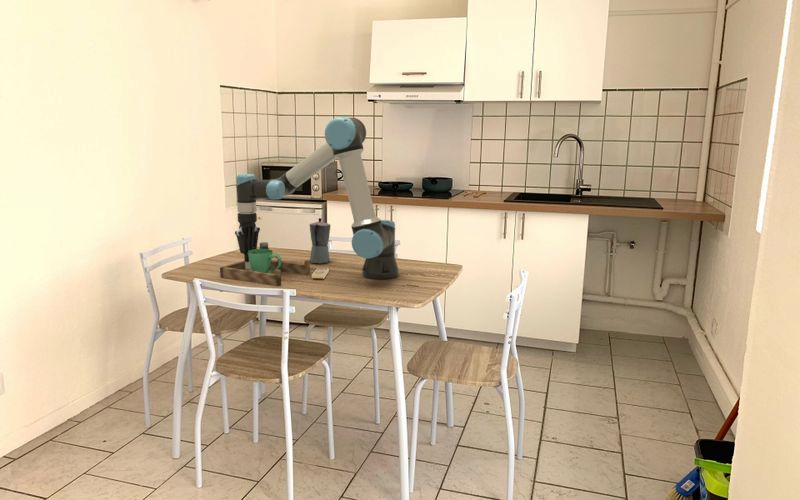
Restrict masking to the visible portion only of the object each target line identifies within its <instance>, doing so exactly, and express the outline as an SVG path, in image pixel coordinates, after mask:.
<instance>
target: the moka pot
mask: <svg viewBox="0 0 800 500" xmlns="http://www.w3.org/2000/svg"><path fill="white" fill-rule="evenodd" d="M309 231H310V240H311V251H310V256H309V258H310V259H309V260H310V264H311V263H312V264H328V263H330V261H331V260H330V251H329V240H330V233H331V224H330V223H327V222H324V221H323V219H322V218H321V217H319V218H318V221H316V222H311V223H309Z"/></svg>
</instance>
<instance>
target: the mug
mask: <svg viewBox="0 0 800 500" xmlns="http://www.w3.org/2000/svg"><path fill="white" fill-rule="evenodd" d="M253 252H255V253H253ZM248 256H249V260H250V265H251V267H252V270H251V271H256V272H263V273H270V274H274V273H275V270H277V269H278V268H279V267H280V266H281V261H282V256H281V255H280V254H278V253H277V254H276V253H275V254H274V253H273V250H272V249H270V248H269V249H260V248H257V249H253V250H249V251H248ZM273 258H275V259H277V261H278V263H277V266H276V267H275V268H274V269H273V270H269V267H270V264H271V260H273Z"/></svg>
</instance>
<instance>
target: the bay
mask: <svg viewBox="0 0 800 500" xmlns="http://www.w3.org/2000/svg"><path fill="white" fill-rule="evenodd" d="M259 249H269V250H270V248H269V243H268V242H267V241H266V242H264V241H263V242H259ZM277 263H278V260H274V259H271V264H270V267H269V270H268V271H271V270H273V269H274V268H275V267H276V266H277ZM282 272H283V273H289V274H298V275H303V276H309V275H311V262H310V259H305V260H304V264H303V263H297V262H296V263H295V262H289V261H282V260H281V266H280V267H279V268H278V269H277V270H275V272H274V273H263V272H256V271H253V270H248V269H245V261H244V260H242V261H238V262H235V263H234V262H233V263H230V264H227V265H224V266H220V267H219V275H220V278H222V279H223V278H224V279H230V280H237V281H243V282H250V283H256V282H257V283H258V284H263V285H271V286H276V287H280V286H282Z"/></svg>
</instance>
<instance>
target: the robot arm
mask: <svg viewBox="0 0 800 500" xmlns="http://www.w3.org/2000/svg"><path fill="white" fill-rule="evenodd" d="M324 138H325V143H323V145H320V146H319V148H317V149H316V150H314V151H313V152H312V153H310V154H309V155H308V156H306V158H304V159H302V160H301V161H300V162H298V163H296V164H295V165H294V166H293V167H292V168H290V169H289V170H288V171H286V172H285V173H284V174H282V175H281V176H280V177H278V178H277V177H276V178H274V179H257V178H256V174H253V173H242V174H241V173H240V174H237V175H236V181H235V187H236V202H237V203H236V204H237V205H236V206H237V222H238V223H239V226H238V230H235V231H234V235H235V237H236V239H237V243H238V248H239V252H240V254H243V256H244V257H243V259H244V260H243V261H245V269H248V270H249V271H253V270H252V267H251V265H250V260H249V256H248V251H249V250H253V249H258V241H259V233H260V231H261V228H260V227H258V226H257V224H256V223H257V221H258V216H257V199H262V200H263V199H264V200H265V199H266V200H281V199H283V197H285V196H289V195H291V194H293V193H294V192H295V190H296V189H298V187H300V186H301V185H302V184H304V183H306V182H307V181H308V180H310V179H311V178H312V177H314V176H315V175H316V174H318V173H319V172H320V171H322V170H323V169H324V168H326V167H327V166H329V165H330V164H331V163H333V162H334V161H336V159H337V160H338V161H339V166H340V169H341V174H342V177H343V181H344V185H345V190H346V193H347V197H348V198H347V199H348V202H349V207H350V210H351V214H352V218H353V222H352V224H351V230H352V237H351V247H352V250H353V251H354V253H355V254H356V255H357V256H359V257H360V258H362V259H364V263H363V266H362V270H361V271H362V273H361V274H362V277H365V278H367V279H371V280H372V279H374V280H387V279H394V278H397V277H398V276H399V275H400V271H399V270H400V269H399V266H398V263H397V260H396V257H395V256H396V254H395V253H396V250H395V249H396V248H395V247H396V243H395V242H396V224H395V222H394V221H393V220H389V219H388V220H387V219H386V220H385V219H381V218H379V217H378V216H377V214H376V211H375V208H374V203H373V199H372V194H371V191H370V187H369V182H368V179H367V176H366V175H367V174H366V171H365V167H364V162H363V158H362V153H363V151H364V148H365V147H364V145H363V143H364V142H365V140H366V138H367V129H366V126H365V124H364V123H363V122H362V121H361V120H360V119H359V118H357V117H347V116H339V117H335V118H333V119H331V120H330V121H329V122H328V123H327V124H326V127H325V129H324ZM253 253H255V252H253Z"/></svg>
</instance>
